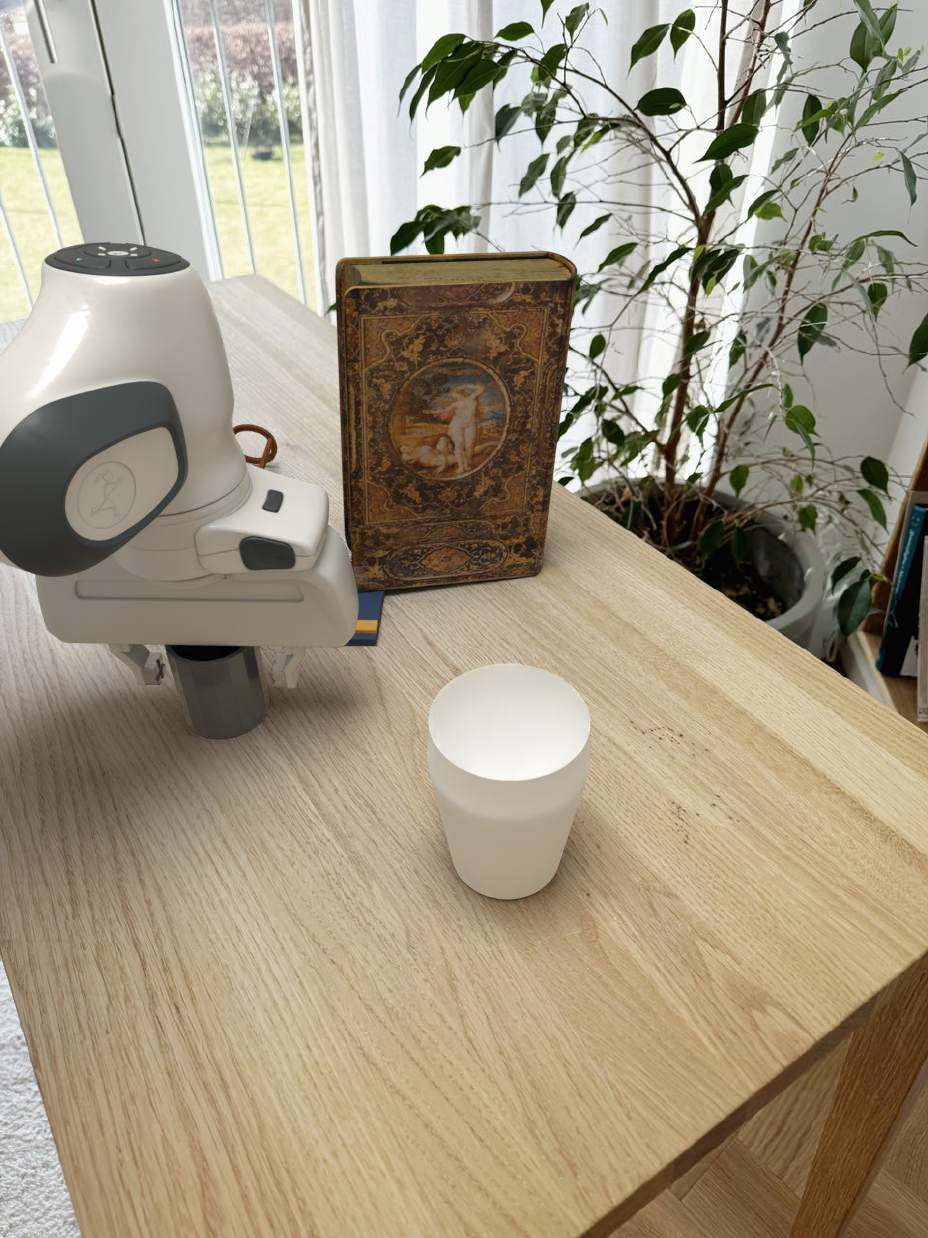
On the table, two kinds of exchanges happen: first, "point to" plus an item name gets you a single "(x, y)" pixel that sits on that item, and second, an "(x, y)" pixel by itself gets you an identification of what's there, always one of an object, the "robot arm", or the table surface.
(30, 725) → the table surface
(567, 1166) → the table surface
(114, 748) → the table surface
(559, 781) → the cup
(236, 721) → the grey tumbler
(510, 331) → the book
